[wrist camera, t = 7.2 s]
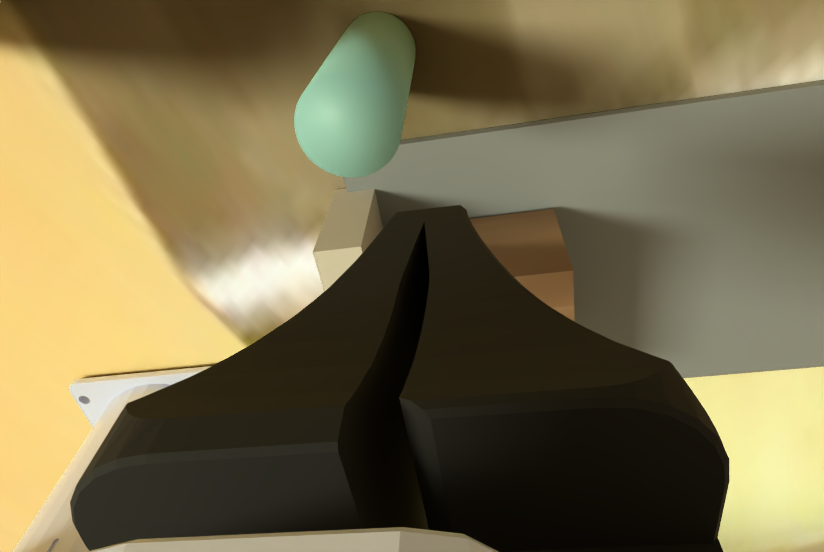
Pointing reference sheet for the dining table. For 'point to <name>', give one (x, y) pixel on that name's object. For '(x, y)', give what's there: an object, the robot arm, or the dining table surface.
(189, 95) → the dining table surface
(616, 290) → the mat with wall
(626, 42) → the dining table surface
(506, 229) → the block
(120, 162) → the dining table surface
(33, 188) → the dining table surface
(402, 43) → the dowel
